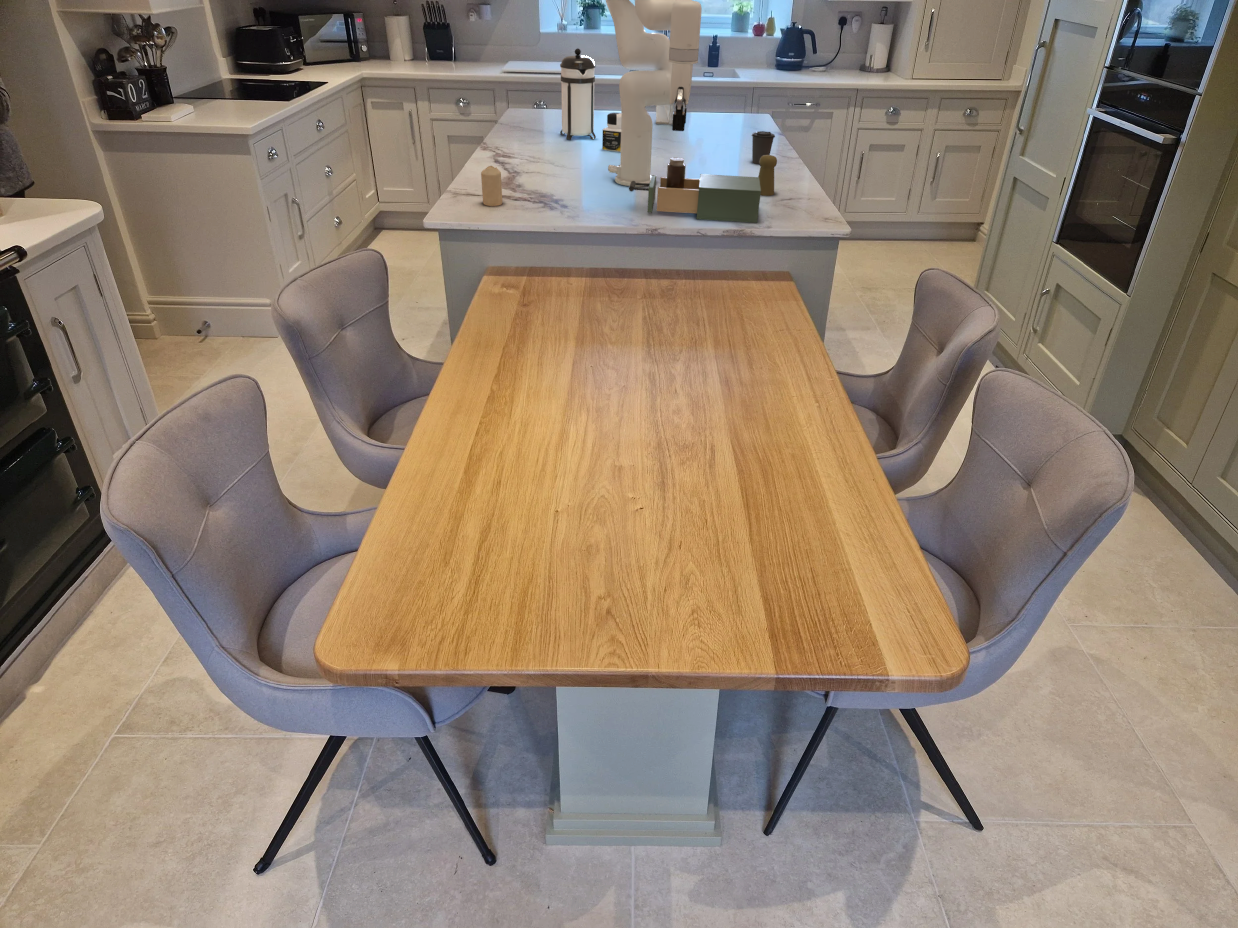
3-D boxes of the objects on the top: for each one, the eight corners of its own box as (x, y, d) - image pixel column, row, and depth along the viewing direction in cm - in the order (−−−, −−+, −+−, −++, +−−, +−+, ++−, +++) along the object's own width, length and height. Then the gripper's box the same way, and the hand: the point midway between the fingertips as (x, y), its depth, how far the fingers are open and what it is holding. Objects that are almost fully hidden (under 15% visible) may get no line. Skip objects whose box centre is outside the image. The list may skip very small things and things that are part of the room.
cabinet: (696, 219, 223) (699, 187, 218) (697, 204, 235) (700, 174, 230) (757, 223, 221) (760, 191, 217) (755, 208, 234) (759, 177, 229)
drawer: (626, 211, 224) (627, 186, 220) (631, 198, 235) (632, 174, 232) (703, 215, 223) (705, 190, 219) (704, 202, 234) (706, 178, 230)
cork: (773, 196, 244) (778, 158, 238) (753, 195, 245) (758, 157, 239) (774, 191, 249) (779, 154, 243) (754, 189, 250) (759, 152, 244)
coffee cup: (776, 163, 280) (780, 132, 274) (763, 167, 275) (766, 135, 269) (757, 159, 284) (760, 128, 279) (743, 162, 279) (746, 131, 274)
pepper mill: (664, 205, 226) (667, 160, 220) (665, 200, 230) (668, 156, 224) (682, 206, 226) (685, 161, 219) (683, 201, 230) (686, 157, 223)
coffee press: (606, 136, 309) (608, 48, 292) (582, 143, 297) (583, 52, 281) (569, 130, 316) (569, 44, 300) (545, 136, 305) (543, 48, 288)
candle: (483, 200, 232) (481, 164, 226) (502, 201, 232) (501, 164, 227) (482, 206, 227) (480, 169, 222) (502, 206, 228) (500, 169, 222)
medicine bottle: (601, 150, 289) (602, 114, 282) (609, 146, 295) (610, 111, 288) (620, 152, 287) (621, 116, 280) (627, 148, 292) (629, 113, 286)
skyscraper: (652, 123, 331) (655, 47, 315) (654, 120, 338) (658, 45, 322) (672, 125, 330) (677, 48, 314) (674, 121, 337) (679, 46, 321)
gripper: (670, 51, 215) (666, 120, 225) (667, 59, 201) (663, 133, 210) (699, 52, 214) (693, 121, 224) (697, 61, 200) (691, 134, 210)
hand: (678, 127), depth 217 cm, fingers open, 9 cm apart
